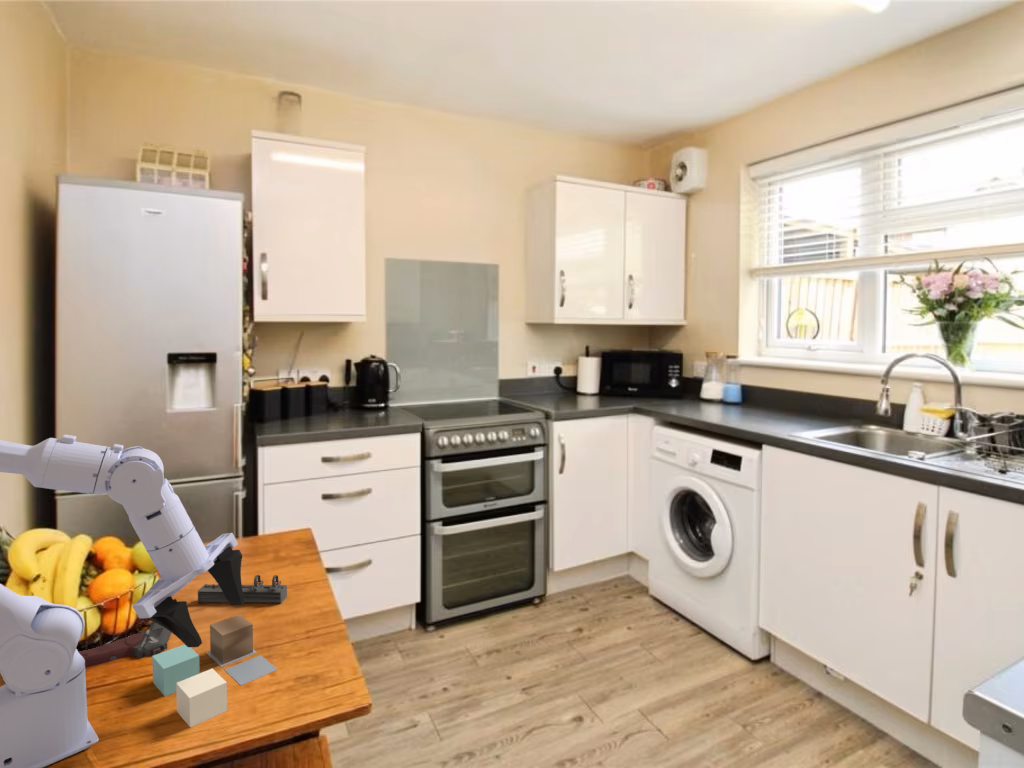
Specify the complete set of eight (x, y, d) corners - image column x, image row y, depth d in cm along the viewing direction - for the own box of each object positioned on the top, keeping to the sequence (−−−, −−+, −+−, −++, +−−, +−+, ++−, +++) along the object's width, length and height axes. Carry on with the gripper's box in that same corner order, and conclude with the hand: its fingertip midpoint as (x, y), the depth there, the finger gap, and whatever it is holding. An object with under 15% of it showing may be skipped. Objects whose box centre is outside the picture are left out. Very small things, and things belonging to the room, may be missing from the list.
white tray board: (216, 699, 79) (216, 695, 79) (182, 663, 87) (182, 660, 87) (286, 668, 87) (286, 665, 87) (248, 638, 95) (248, 635, 95)
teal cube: (164, 700, 79) (163, 668, 78) (153, 686, 82) (152, 655, 81) (199, 685, 82) (199, 655, 82) (187, 672, 85) (186, 643, 85)
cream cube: (190, 731, 73) (189, 698, 72) (176, 715, 76) (176, 682, 75) (227, 714, 76) (226, 682, 76) (213, 699, 79) (212, 668, 79)
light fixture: (206, 599, 108) (205, 571, 108) (287, 600, 109) (287, 571, 108) (197, 608, 105) (196, 578, 105) (281, 608, 105) (280, 579, 105)
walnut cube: (222, 664, 86) (222, 635, 86) (210, 652, 89) (209, 624, 89) (253, 652, 90) (252, 624, 89) (240, 641, 93) (239, 614, 92)
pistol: (100, 627, 98) (181, 615, 103) (70, 676, 84) (165, 659, 89) (99, 613, 98) (180, 601, 102) (69, 659, 84) (164, 643, 88)
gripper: (141, 572, 66) (195, 666, 70) (234, 503, 79) (275, 585, 82) (102, 576, 69) (156, 666, 72) (198, 508, 81) (240, 587, 85)
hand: (217, 623), depth 77 cm, fingers open, 7 cm apart
